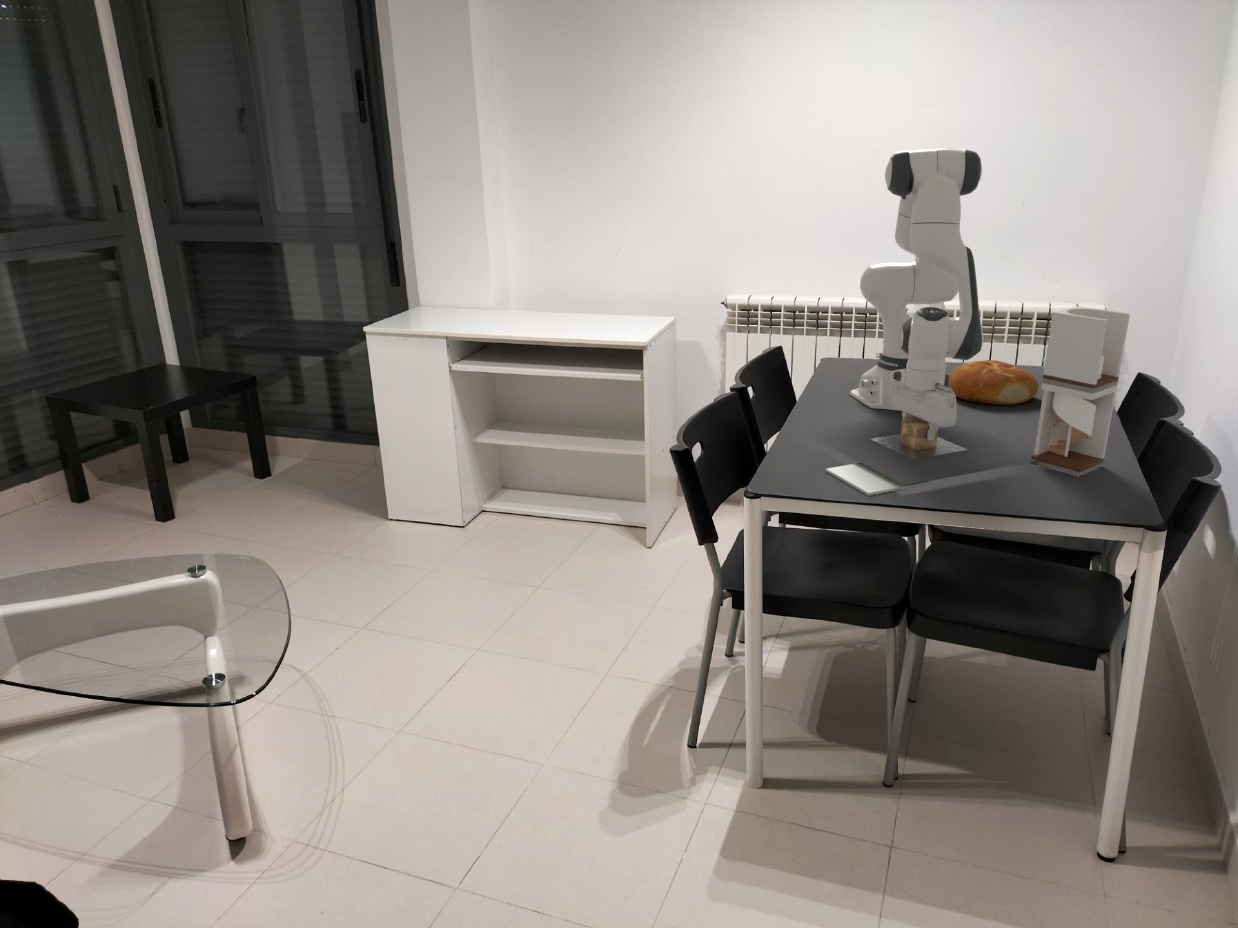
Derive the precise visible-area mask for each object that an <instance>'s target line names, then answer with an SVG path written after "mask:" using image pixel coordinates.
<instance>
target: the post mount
mask: <svg viewBox="0 0 1238 928" xmlns="http://www.w3.org/2000/svg"><path fill="white" fill-rule="evenodd" d="M900 435H901V433H899V434H893V435H891V434H890V435H886V436H880V437H874V438H870V440H871V441H873V442H875V443H878V444H879V445H882V446H883V447H886V448H888V449H890V450H892V451H894V452H896V453H898V454H900V455H902V456H904V457H907V458H908V459H911V460H918V459H923V458H929V457H930V458H931V457H934V456H935V457H936V456H941V455H946V454H952V453H959V452H963V451H968V449H967V448H965V447H963V446H960V445H958V444H956V443H953V442H951V441H949V440H946V439H944V438H942V437H939V436H938V439H937V446H935V447H929V448H923V449H918V450H916V449H913V448H911V447H909V446H907V445H905V444H903V443H901V442H900Z"/></svg>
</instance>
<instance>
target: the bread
mask: <svg viewBox="0 0 1238 928" xmlns="http://www.w3.org/2000/svg"><path fill="white" fill-rule="evenodd" d="M947 382H948V383H947V385H948V386H947V387H950V388H952V391H953V392H954V394H955V395H956V398H958V399H961V400H964V401H967V402H974V403H981V404H987V405H988V404H989V405H996V406H999V405H1000V406H1012V405H1019V404H1023V403H1027V402H1028V401H1030V400H1031V399H1033V398H1034V397H1035V396H1036V395H1037V393H1038V390H1039V382H1038V380H1037V378H1036V377H1035V375H1033V374H1032V372H1030V371H1028V370H1027V369H1024V368H1022V367H1019V366H1017V365H1014V364H1011V363H1008V362H1003V361H1001V360H1000V361H999V360H992V359H986V360H985V359H984V360H977V361H976V360H975V361H971V362H967V363H965V364H961V365H959V366H958V367H956V368H954V370H952V371H951V373H950V375H949V378H948V381H947Z"/></svg>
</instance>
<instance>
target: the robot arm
mask: <svg viewBox="0 0 1238 928" xmlns="http://www.w3.org/2000/svg"><path fill="white" fill-rule="evenodd" d="M884 172H885V173H884V179H885V183H886V187H887V191H889V192H890V193H891V194H892V195H895V196H897V197H900V201H899V206H898V209H897V211H898V212H897V219H896V226H895V233H894V240H895V242H896V244H897V245H898V247H899V248H901V249H902V250H904V252H906V253H908V254H911V255H913V256H914V257H915V258H914V261H910V262H883V263H876V264H874V265H873V264H872V265H869V266H867V268H866V269H865V270H864V271H863V273H862V275H861V278H860V285H859V288H860V293H861V295H862V296H863V297H864V299H865V300H866V301H867V302H868V303H869V304H870V305H872V307H874V308H875V310H876V312H877V313H878V315H879V316H880V319H881V323H882V331H883V332H882V333H883V336H882V337H883V338H882V339H883V340H882V351H881V352H880V353H876V354H875V355H876V356H875V358H877V362H876V365H875V366H873V367H872V368H870V369H869V370H867V371H866V372H864V373H863V374H861V376H860V380H859V385H858V388H857V387H856V388H855V389H852V390H850V392H849V395H850V396H851V397H853V398H854V399H855V400H857V401H860V403H862V404H864V405H865V406H867V407H868V408H870V409H877V410H878V409H880V410H881V409H882V410H890V411H900V412H901V415H902V418H909V417H918V418H920V419H922V420H925V421H927V422H929V427H930V429H929V431H927V432H925V439H928V440H934V439H935V433H936V431H937V430H938V429H940V428H943V429H945V428H951V427H954V426H955V425H956V423H957V415H958V414H957V413H958V411H957V410H958V409H957V407H958V406H957V396H956V395H955V394H954V392H953V391H952V388H950V387H949V386H946V385H945V381H946V373H947V362H946V358H947V359H953V360H962V361H969V360H970V359H972V358H973V357H975V356H976V355H978V353H980V352H981V351H982V347H983V343H984V332H983V327H982V323H981V317H980V308H979V306H980V305H979V296H978V286H977V285H978V284H977V282H978V281H977V274H976V263H975V259H974V255H973V251H972V250H971V248H970V247H968V246H967V245H965V244H964V241H963V239H962V236H961V229H960V228H961V218H962V217H961V215H962V211H961V210H962V209H961V208H962V207H961V197H962V196H966V195H969V194H972V193H973V192H974V191H976V189H977V188H978V186H979V183H980V181H981V178H982V174H983V165H982V162H981V157H980V156H979V154H978V152H976V151H973V150H969V149H962V150H959V149H952V148H950V149H949V148H934V149H933V148H931V149H917V150H916V149H915V150H911V151H910V150H907V149H906V150H900V151H896V152H894V153H893V154H892V155H891V156H890V158H889V160H888V163H887V164H886V167H885V171H884ZM957 295H958V301H959V311H960V314H959V315H958V316H953V317H952V316H950V315H949V312H948V311H947V312H946V311H945V310H943V309H940V308H936V307H925V308H921V309H918V310H917V311H916V312H915V314H914V317H913V316H911V315H909V314H907V313H906V312H907V305H908V306H910V305H911V304H938V303H943V304H944V303H948V302H951V301H953V300H954V298H955V297H956V296H957ZM938 431H939V430H938Z"/></svg>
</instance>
